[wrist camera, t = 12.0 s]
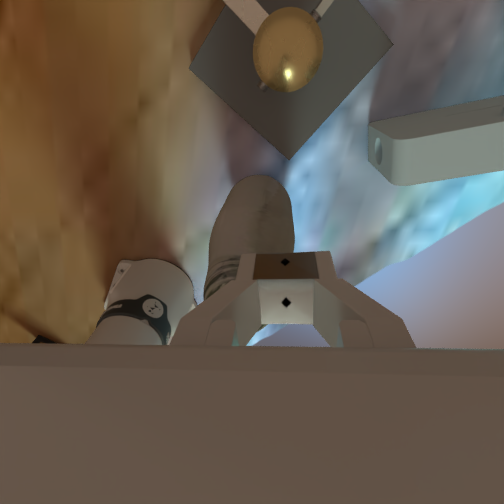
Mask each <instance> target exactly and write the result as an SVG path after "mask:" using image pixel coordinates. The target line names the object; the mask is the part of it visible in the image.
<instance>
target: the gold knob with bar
mask: <svg viewBox="0 0 504 504" xmlns="http://www.w3.org/2000/svg"><path fill="white" fill-rule="evenodd" d="M222 1H223V2H224V3H225V4H226V5H227V6H228V7H229V8H230V9H231V10H232V11H233V13H234V14H235V15H236V16H237V17H238V18H239V19H240V20H241V21H242V22H243V23H244V24H245V25H246V26H247V27H248V28H249V30H250V31H251V32H252V33H253V34H254V35H255V39H254V44H253V61H254V65H255V69H256V71H257V73H258V75H259V77H260V78H261V80H260V81H259V83H258V84H257V86H258V87H259V88H260V89H261V90H262V91H263V92H264V93H265V92H266V91H267V89H268V88H269V87H270V88H271V89H273V90H275V91H279V92H292V91H296V90H298V89H300V88H302V87H304V86H305V85H306V84H307V83H309V81H310V80H311V79H312V78H313V77H314V75H315V74H316V72H317V70H318V68H319V66H320V63H321V60H322V55H323V38H322V33H321V30H320V28H319V26H318V23H319V21H320V20H321V17H320V15H319V14H318V13H317V12H316V11H315V10H314V9H313V10H312V11H311V13H310V14H309V13H308V12H306V11H304V10H302V9H300V8H297V7H285V8H281V9H278V10H276V11H274V12H273V13H271V14H270V15H268V13H267V12H266V11H265V10H264V9H263V8H262V7H261V6H260V5H259V3H258V2H257V1H256V0H222Z"/></svg>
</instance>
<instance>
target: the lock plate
mask: <svg viewBox="0 0 504 504" xmlns="http://www.w3.org/2000/svg"><path fill="white" fill-rule="evenodd" d="M256 1H257V2H258V3H259V5H260V6H261V7H262V8H263V9H264V10H265V11H266V12H267V13H268V15H270V14H271V13H273V12H274V11H276V10H278V9H281V8H285V7H297V8H300V9H302V10H304V11H306V12H308V13H309V14H310V13H311V11H312V10H313V9H314V10H315V11H316V12H317V13H318V14H319V15H320V17H321V20H320V21H319V23H318V26H319V28H320V30H321V33H322V38H323V55H322V60H321V63H320V66H319V68H318V70H317V72H316V74H315V75H314V77H313V78H312V79H311V80H310V81H309V83H307V84H306V85H305V86H304V87H302V88H300V89H298V90H296V91H292V92H279V91H275V90H273V89H271V88H270V87H269V88H268V89H267V91H266V92H265V93H264V92H263V91H262V90H261V89H260V88H259V87H258V86H257V84H258V83H259V81H260V80H261V78H260V77H259V75H258V73H257V71H256V69H255V65H254V61H253V44H254V39H255V35H254V34H253V33H252V32H251V31H250V30H249V28H248V27H247V26H246V25H245V24H244V23H243V22H242V21H241V20H240V19H239V18H238V17H237V16H236V15H235V14H234V13H233V11H232V10H231V9H230V8H229V7H228V6H227V5H225V7H224V8H223V10H222V12H221V14H220V15H219V17H218V19H217V20H216V22H215V24H214V26H213V27H212V29H211V31H210V32H209V34H208V36H207V38H206V39H205V41H204V43H203V45H202V46H201V48H200V50H199V51H198V53H197V55H196V57H195V58H194V60H193V62H192V63H191V65H190V67H189V69H190V70H191V71H192V72H193V73H194V74H195V75H196V76H197V77H198V78H200V79H201V80H202V81H203V82H204V83H205V84H206V85H207V86H208V87H209V88H210V89H212V90H213V91H214V92H215V93H216V94H217V95H218V96H219V97H220V98H221V99H223V100H224V101H225V102H226V103H227V104H228V105H229V106H230V107H231V108H232V109H233V110H235V111H236V112H237V113H238V114H239V115H240V116H241V117H242V118H243V119H244V120H245V121H247V122H248V123H249V124H250V125H251V126H252V127H253V128H254V129H255V130H256V131H258V132H259V133H260V134H261V135H262V136H263V137H264V138H265V139H266V140H267V141H268V142H270V143H271V144H272V145H273V146H274V147H275V148H276V149H277V150H278V151H279V152H281V153H282V154H283V155H284V156H285V157H286V158H287V159H288V160H290V159H291V158H292V157H293V155H294V154H295V153H296V152H297V151H298V150H299V149H300V148H301V147H302V145H303V144H304V143H305V142H306V141H307V140H308V139H309V138H310V137H311V136H312V134H313V133H314V132H315V131H316V130H317V129H318V128H319V127H320V126H321V124H322V123H323V122H324V121H325V120H326V119H327V118H328V117H329V116H330V114H331V113H332V112H333V111H334V110H335V109H336V108H337V107H338V106H339V104H340V103H341V102H342V101H343V100H344V99H345V98H346V97H347V96H348V94H349V93H350V92H351V91H352V90H353V89H354V88H355V87H356V86H357V84H358V83H359V82H360V81H361V80H362V79H363V78H364V77H365V76H366V74H367V73H368V72H369V71H370V70H371V69H372V68H373V67H374V66H375V64H376V63H377V62H378V61H379V60H380V59H381V58H382V57H383V56H384V55H385V53H386V52H387V51H388V50H389V49H390V48H391V47H392V46H393V45H394V44H393V43H392V42H391V41H390V39H389V38H388V37H387V36H386V34H385V33H384V32H383V31H382V29H381V28H380V27H379V26H378V24H377V23H376V22H375V21H374V19H373V18H372V17H371V16H370V14H369V13H368V12H367V11H366V10H365V8H364V7H363V6H362V5H361V3H360V2H359V1H358V0H256Z"/></svg>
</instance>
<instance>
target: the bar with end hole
mask: <svg viewBox="0 0 504 504" xmlns="http://www.w3.org/2000/svg"><path fill="white" fill-rule="evenodd" d="M368 161H369V162H370V163H371V164H372V165H373V166H374V167H375V168H376V169H377V170H378V171H379V172H380V173H381V174H382V175H383V176H384V177H385V178H386V179H387V180H388V181H389V182H390V183H391V184H393V185H399V186H408V185H415V184H421V183H427V182H433V181H440V180H446V179H452V178H458V177H465V176H471V175H477V174H483V173H490V172H496V171H502V170H504V95H503V96H498V97H493V98H488V99H483V100H478V101H473V102H468V103H463V104H458V105H453V106H448V107H444V108H439V109H434V110H429V111H424V112H419V113H414V114H409V115H404V116H399V117H394V118H389V119H384V120H379V121H375V122H371V123H369V124H368Z"/></svg>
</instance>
